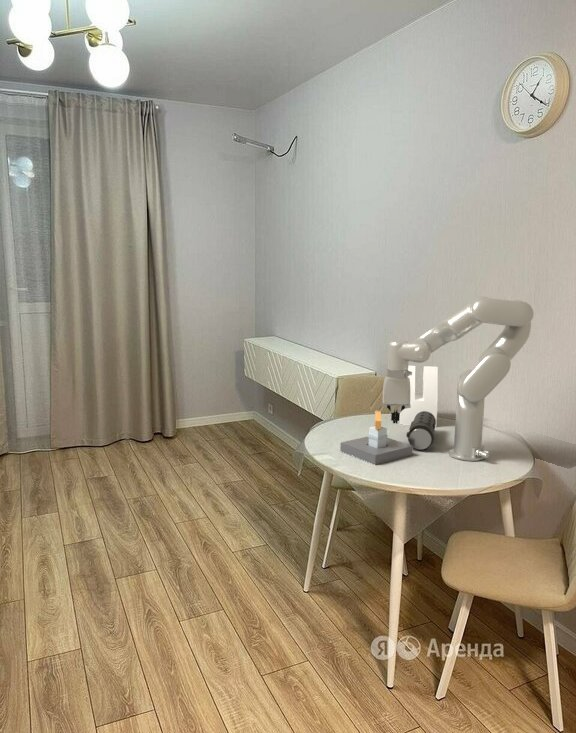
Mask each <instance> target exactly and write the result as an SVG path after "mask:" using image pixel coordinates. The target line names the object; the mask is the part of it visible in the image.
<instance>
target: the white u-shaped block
mask: <svg viewBox="0 0 576 733" xmlns="http://www.w3.org/2000/svg"><path fill="white" fill-rule="evenodd" d="M438 370H439V368H438V366H430V365H429V366H428V365H426V366H425V365H424V366H423V371H422V373H423V374H422V380H421V381H422V382H421V390H420V391H416V365H408V371H410V372H412V375H410V376H408V378H410V390H411V397H410V405H411V407H410V408H406V409H404V410H402V411H401V413H400V419H399V425H400V424H403V425H411V422H412V421H414V418H415V416H416V415H417V414H418V413H419V412H422V411H427V412H430V413H431V414H433V415H434V417H435V419H436V423H437V421H438V420H437V418H438V404H439V402H438V401H439V400H438V398H439V397H438V396H439V394H438V393H439V390H438V388H439V387H438V386H439V383H438V378H439V377H438V376H439V374H438V373H439V372H438ZM403 425H402V426H403ZM435 426H436V427H437V424H436V425H435Z"/></svg>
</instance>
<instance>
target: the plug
mask: <svg viewBox="0 0 576 733" xmlns="http://www.w3.org/2000/svg"><path fill="white" fill-rule="evenodd" d="M387 433H388V428H387V427H384V426H381V429H375V426H369V428H368V433H367V437H369V446H372V447H374V448H377V449H378V448H382V447H386V438H389V436H388V434H387Z"/></svg>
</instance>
